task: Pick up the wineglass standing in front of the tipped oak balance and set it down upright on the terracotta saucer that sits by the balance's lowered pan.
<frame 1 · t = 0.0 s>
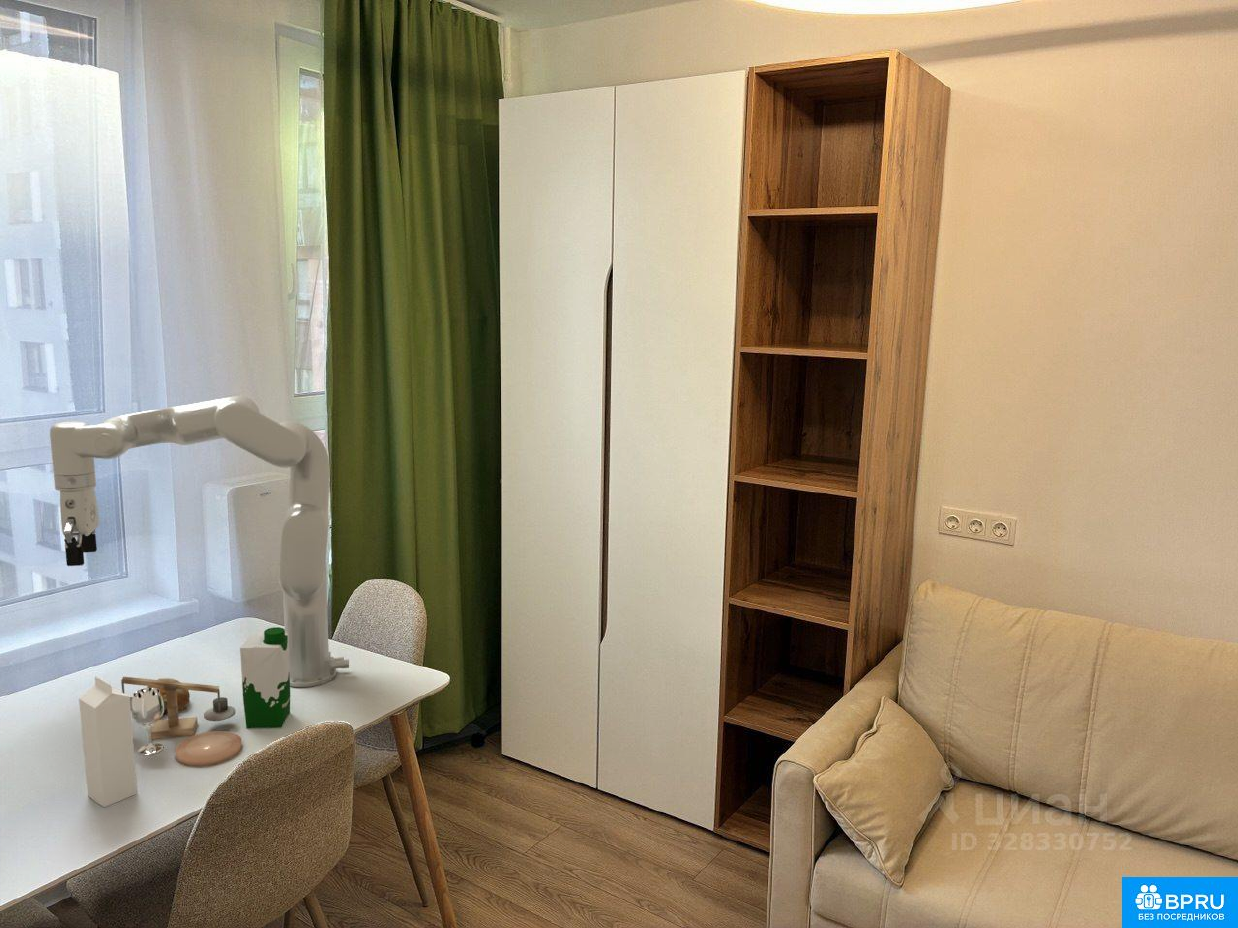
hand: (82, 558, 201), 31 cm above the table, fingers open, 9 cm apart
balance: (174, 731, 191), on the table
dish: (209, 750, 184), on the table
milk carton: (268, 721, 197), on the table
milk: (113, 795, 168), on the table
wineglass: (151, 750, 184), on the table
bread roll: (164, 708, 202), on the table
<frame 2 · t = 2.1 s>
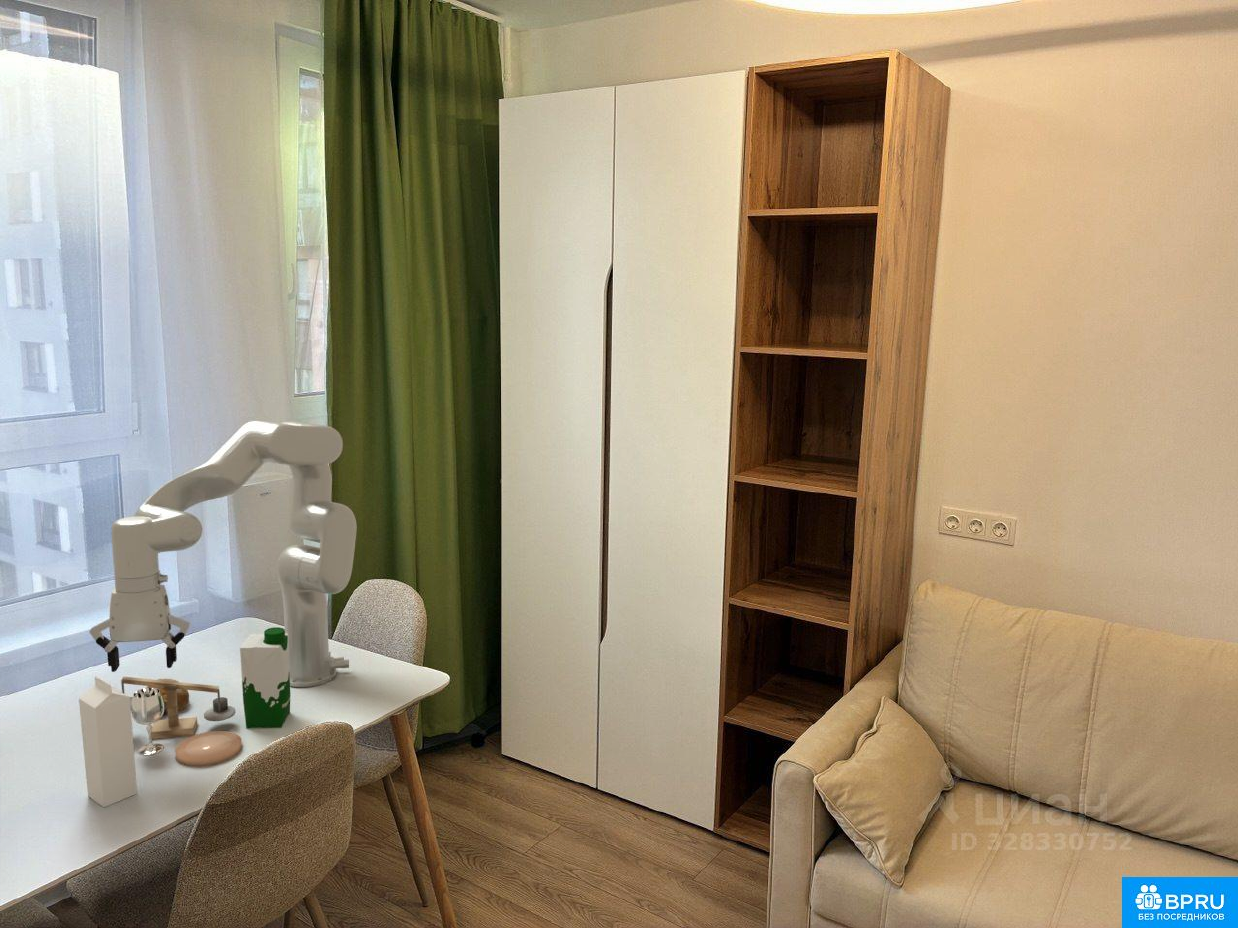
hand: (143, 667, 180), 17 cm above the table, fingers open, 9 cm apart
nothing on the table moved.
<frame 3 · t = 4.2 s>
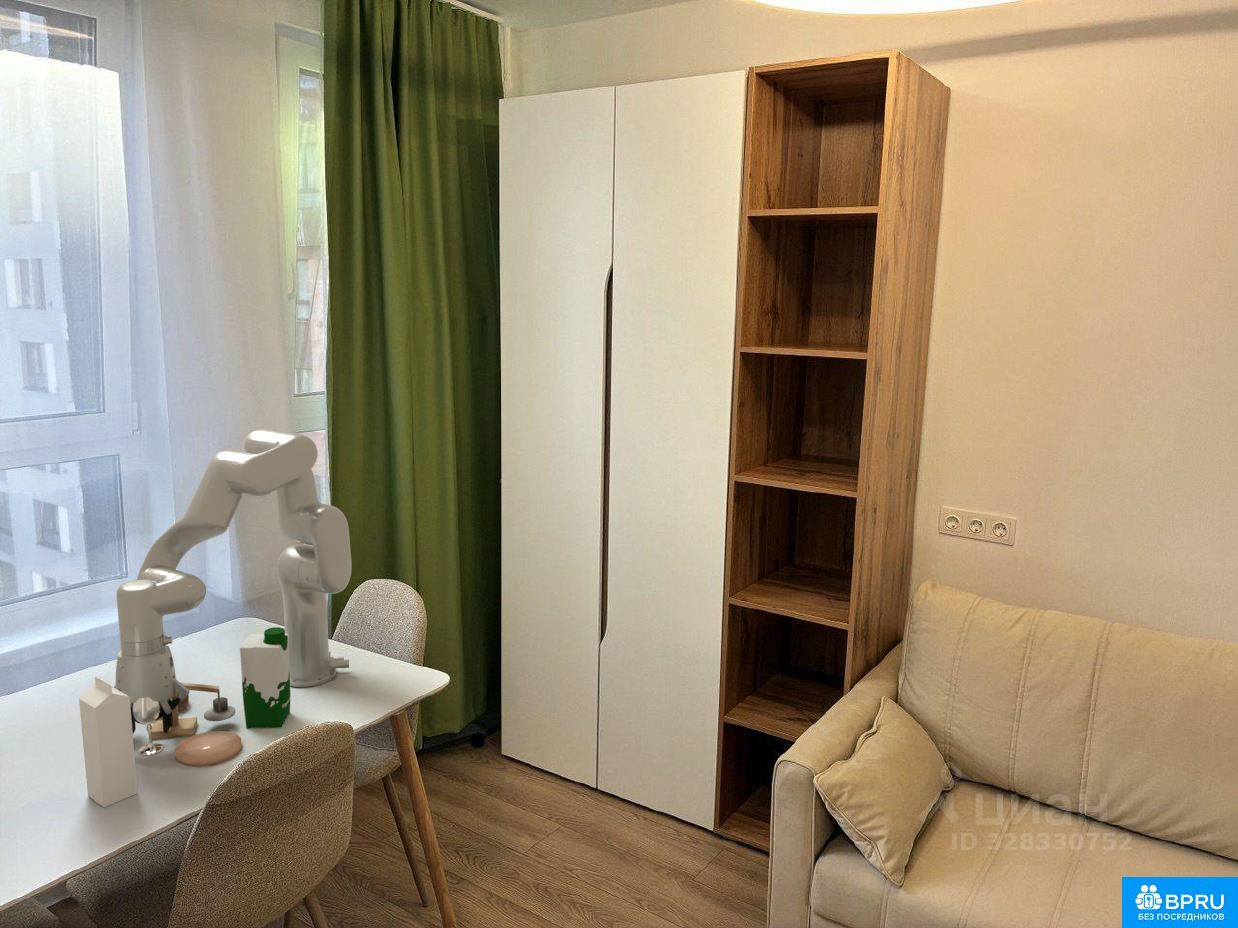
hand: (149, 730, 183), 4 cm above the table, fingers closed on wineglass, 5 cm apart
wineglass: (151, 750, 184), on the table, touching gripper
everything else where it was.
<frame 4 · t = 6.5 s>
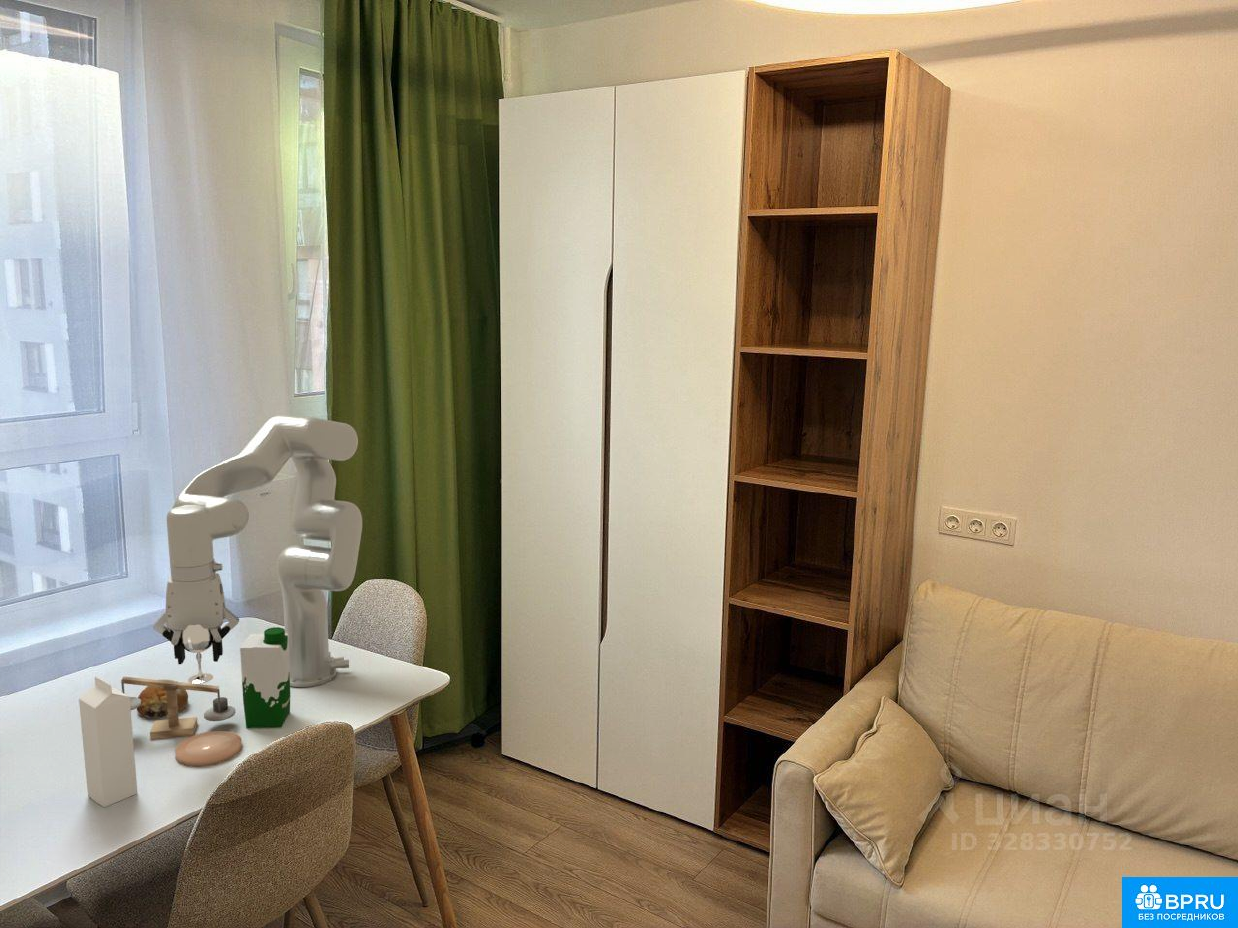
hand: (199, 659, 180), 19 cm above the table, fingers closed on wineglass, 5 cm apart
wineglass: (200, 679, 181), point 15 cm above the table, touching gripper
everything else where it was.
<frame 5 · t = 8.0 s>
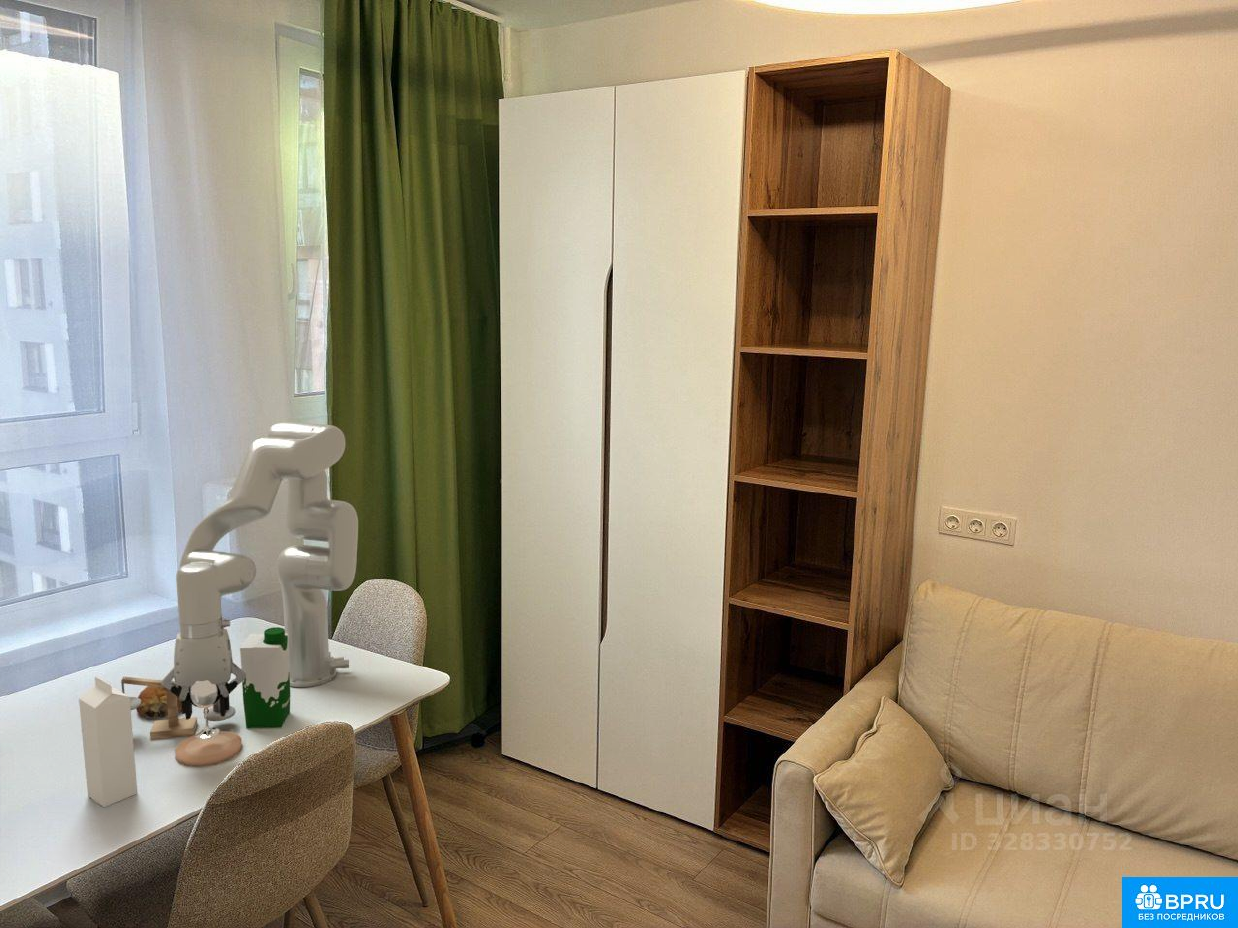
hand: (206, 714, 182), 8 cm above the table, fingers closed on wineglass, 5 cm apart
wineglass: (207, 734, 183), point 4 cm above the table, touching gripper
everything else where it was.
when the fingers open (6 cm above the table, at t = 9.2 s): wineglass stays where it is, resting on dish.
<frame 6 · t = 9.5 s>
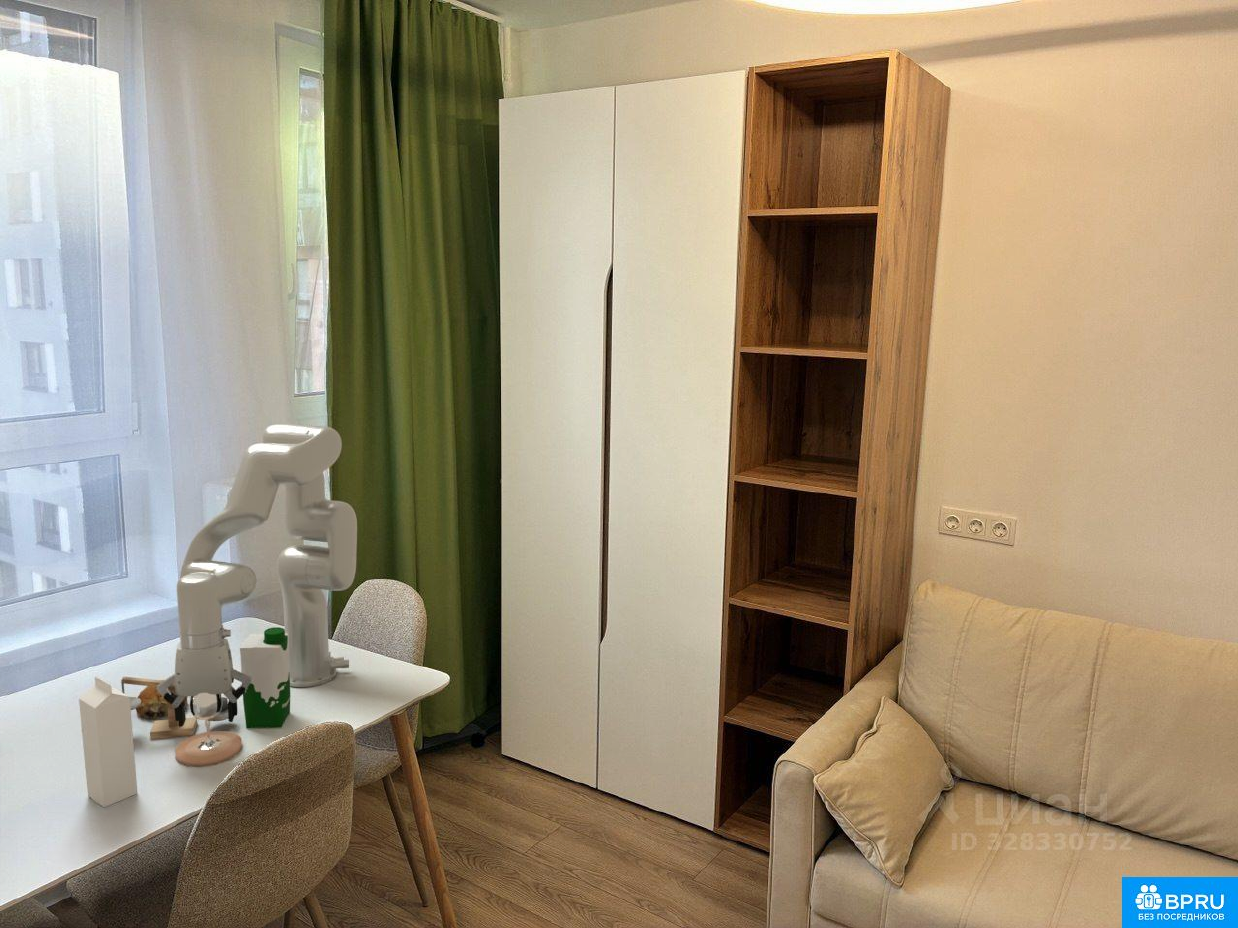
hand: (207, 720, 183), 6 cm above the table, fingers open, 8 cm apart
wineglass: (208, 745, 184), point 1 cm above the table, touching dish
everything else where it was.
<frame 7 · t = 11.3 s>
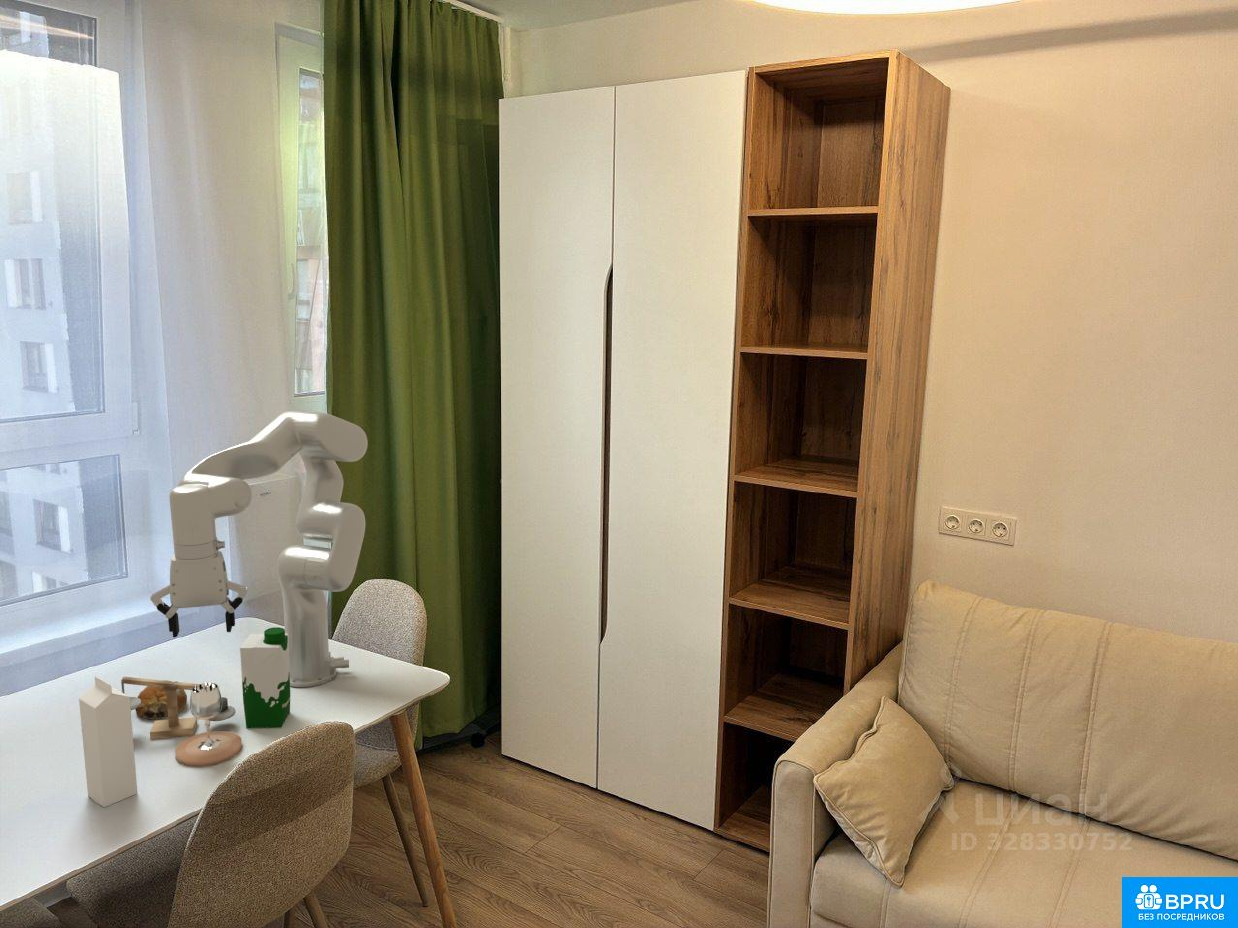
hand: (203, 632, 183), 23 cm above the table, fingers open, 9 cm apart
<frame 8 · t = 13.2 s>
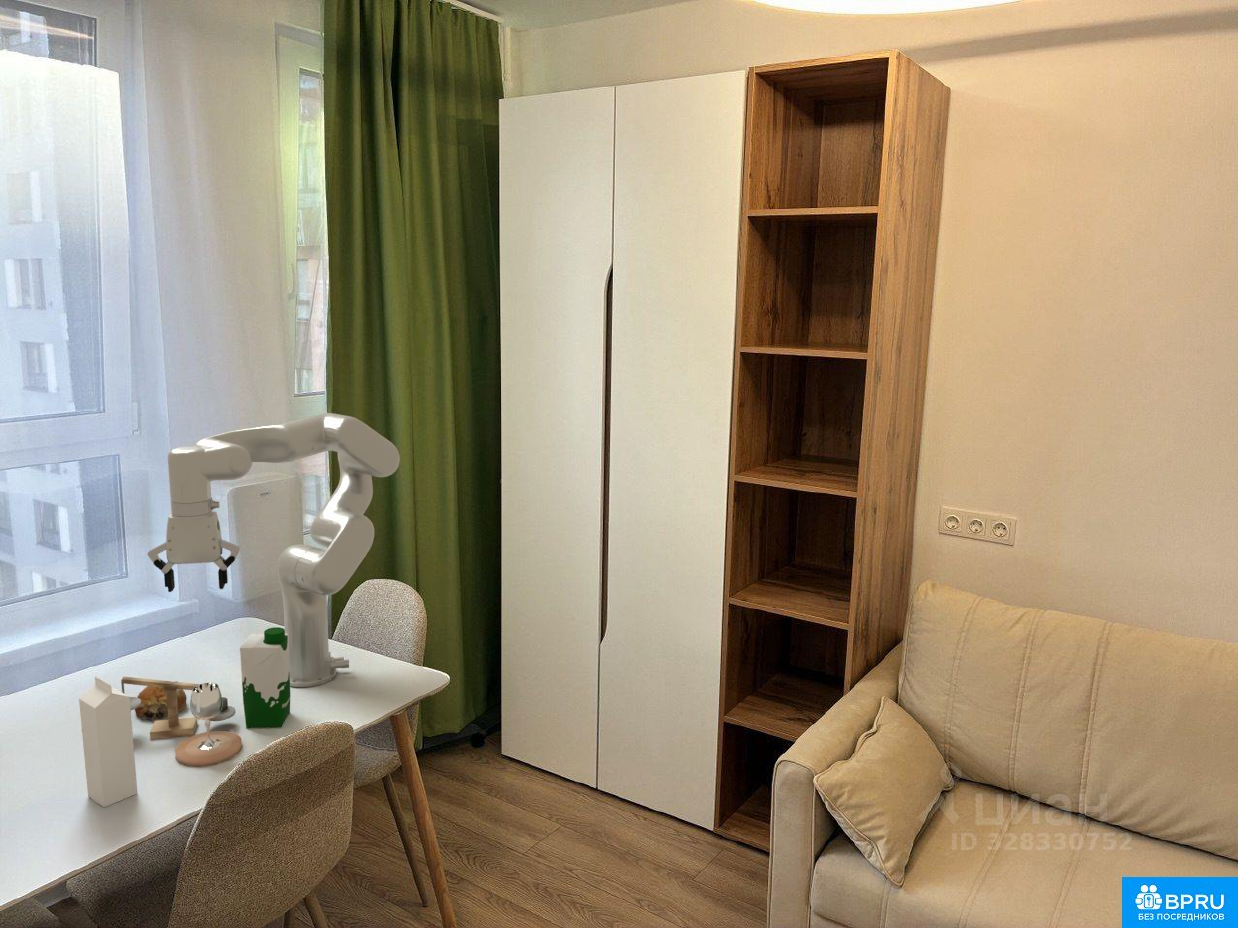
hand: (197, 588, 193), 28 cm above the table, fingers open, 9 cm apart
at the end: wineglass inside the target area on the dish (0.1 cm from its centre), point 1.1 cm above the dish's base; wineglass touching dish; wineglass tilted 0° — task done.
